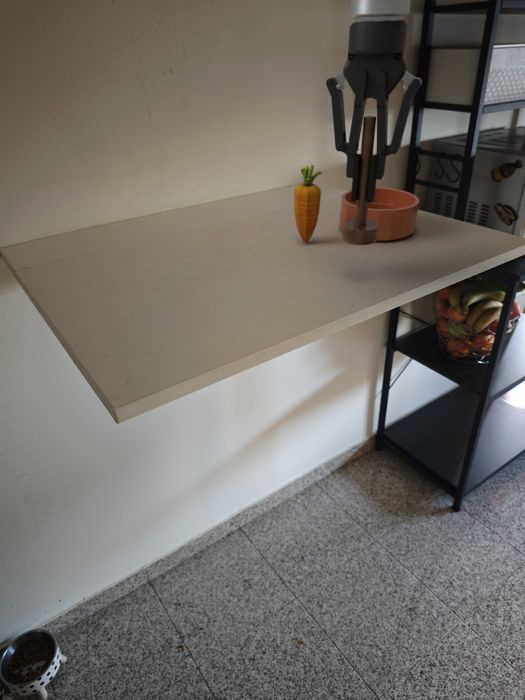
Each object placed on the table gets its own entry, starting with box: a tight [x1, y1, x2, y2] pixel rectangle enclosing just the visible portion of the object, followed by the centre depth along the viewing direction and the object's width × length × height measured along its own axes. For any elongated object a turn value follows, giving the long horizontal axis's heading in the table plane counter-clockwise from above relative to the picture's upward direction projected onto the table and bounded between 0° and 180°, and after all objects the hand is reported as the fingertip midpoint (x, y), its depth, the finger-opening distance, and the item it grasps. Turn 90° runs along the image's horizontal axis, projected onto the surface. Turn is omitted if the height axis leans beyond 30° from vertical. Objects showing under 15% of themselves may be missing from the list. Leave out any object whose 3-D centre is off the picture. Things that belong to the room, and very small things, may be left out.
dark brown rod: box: [341, 115, 378, 246], centre depth 77 cm, size 6×6×18 cm
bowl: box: [338, 186, 420, 242], centre depth 103 cm, size 15×15×6 cm
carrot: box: [293, 164, 323, 244], centre depth 94 cm, size 5×5×15 cm
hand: (362, 199), depth 78 cm, fingers closed on dark brown rod, 2 cm apart
